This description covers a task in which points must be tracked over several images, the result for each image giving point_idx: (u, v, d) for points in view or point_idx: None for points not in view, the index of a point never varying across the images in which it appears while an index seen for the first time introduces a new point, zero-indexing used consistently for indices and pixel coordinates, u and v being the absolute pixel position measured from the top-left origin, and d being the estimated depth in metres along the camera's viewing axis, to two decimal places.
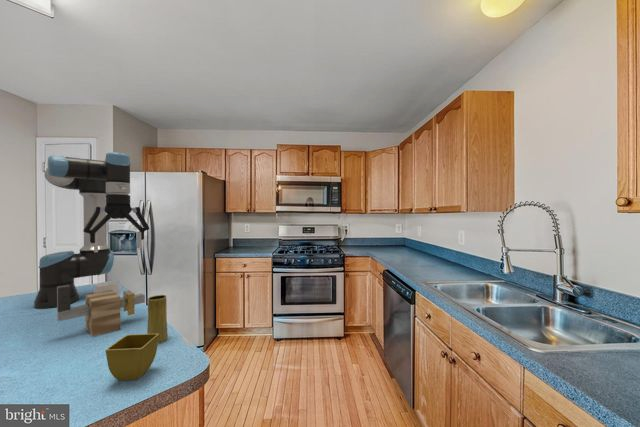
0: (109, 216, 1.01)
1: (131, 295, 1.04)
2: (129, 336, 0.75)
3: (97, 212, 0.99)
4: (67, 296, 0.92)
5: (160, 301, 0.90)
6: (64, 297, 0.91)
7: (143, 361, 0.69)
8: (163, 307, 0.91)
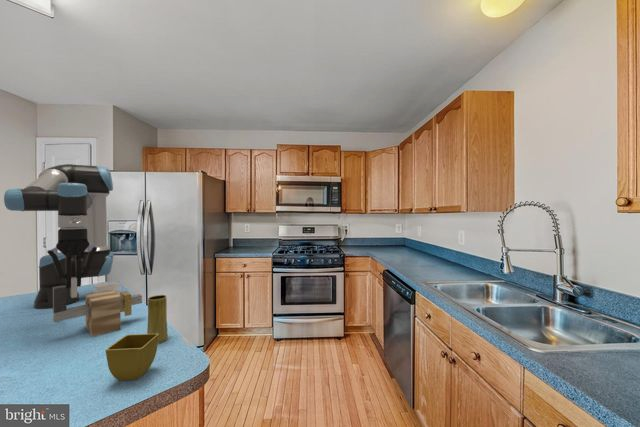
0: (68, 255, 0.92)
1: (128, 296, 1.03)
2: (129, 336, 0.75)
3: (53, 256, 0.90)
4: (63, 297, 0.91)
5: (160, 301, 0.90)
6: (60, 297, 0.91)
7: (142, 360, 0.69)
8: (163, 307, 0.91)
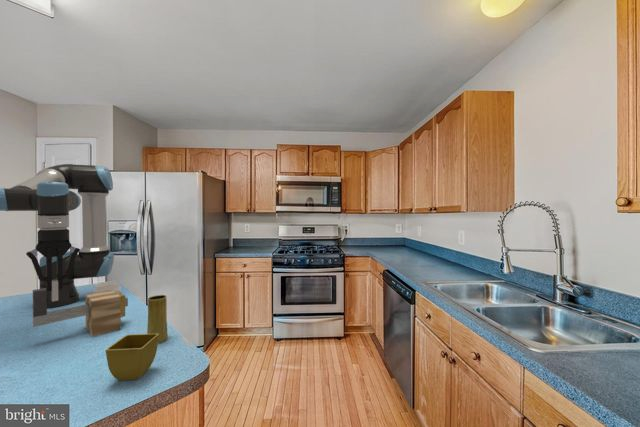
0: (48, 257, 0.89)
1: (122, 297, 1.02)
2: (129, 336, 0.75)
3: (32, 258, 0.86)
4: (43, 301, 0.88)
5: (160, 301, 0.90)
6: (40, 301, 0.87)
7: (142, 361, 0.69)
8: (163, 307, 0.91)
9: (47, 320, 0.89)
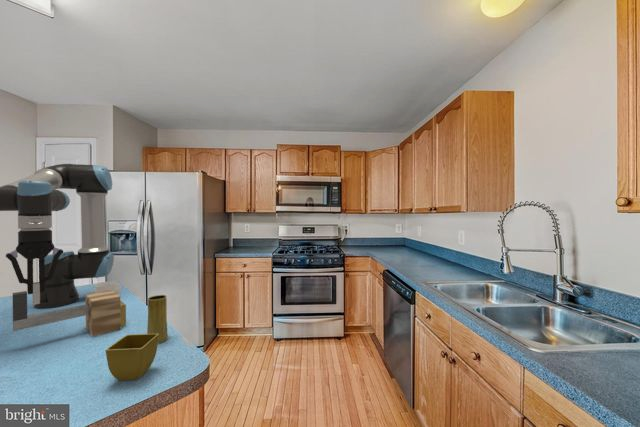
0: (29, 259, 0.85)
1: (122, 306, 1.02)
2: (129, 336, 0.75)
3: (12, 259, 0.83)
4: (24, 304, 0.85)
5: (160, 301, 0.90)
6: (20, 304, 0.84)
7: (143, 361, 0.69)
8: (163, 307, 0.91)
9: (28, 324, 0.85)
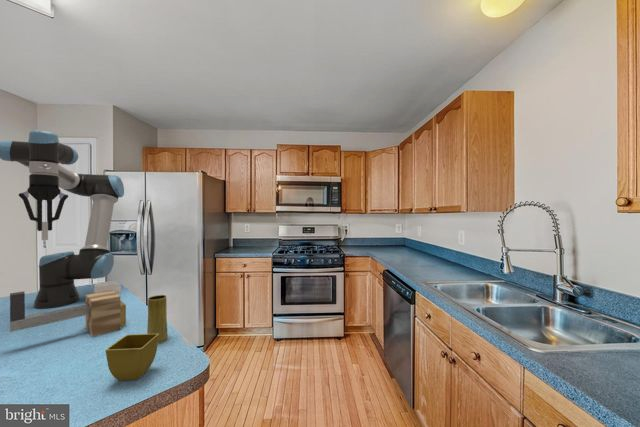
0: (39, 199, 0.97)
1: (122, 306, 1.02)
2: (129, 336, 0.75)
3: (24, 198, 0.95)
4: (21, 304, 0.84)
5: (160, 301, 0.90)
6: (17, 305, 0.84)
7: (142, 361, 0.69)
8: (163, 307, 0.91)
9: (25, 325, 0.85)
